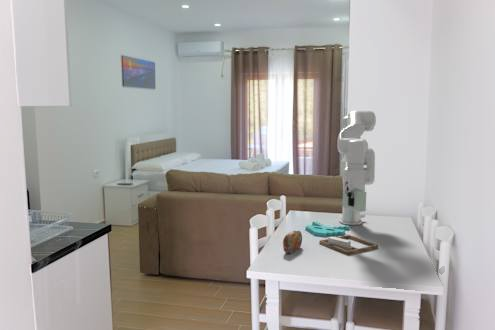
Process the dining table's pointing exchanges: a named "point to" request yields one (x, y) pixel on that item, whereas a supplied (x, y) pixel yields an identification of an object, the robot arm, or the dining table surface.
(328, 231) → the alien figure
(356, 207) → the sage panel
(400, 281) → the dining table surface
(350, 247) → the pine offcut
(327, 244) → the rack
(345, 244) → the grey offcut
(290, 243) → the tin
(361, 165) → the robot arm
